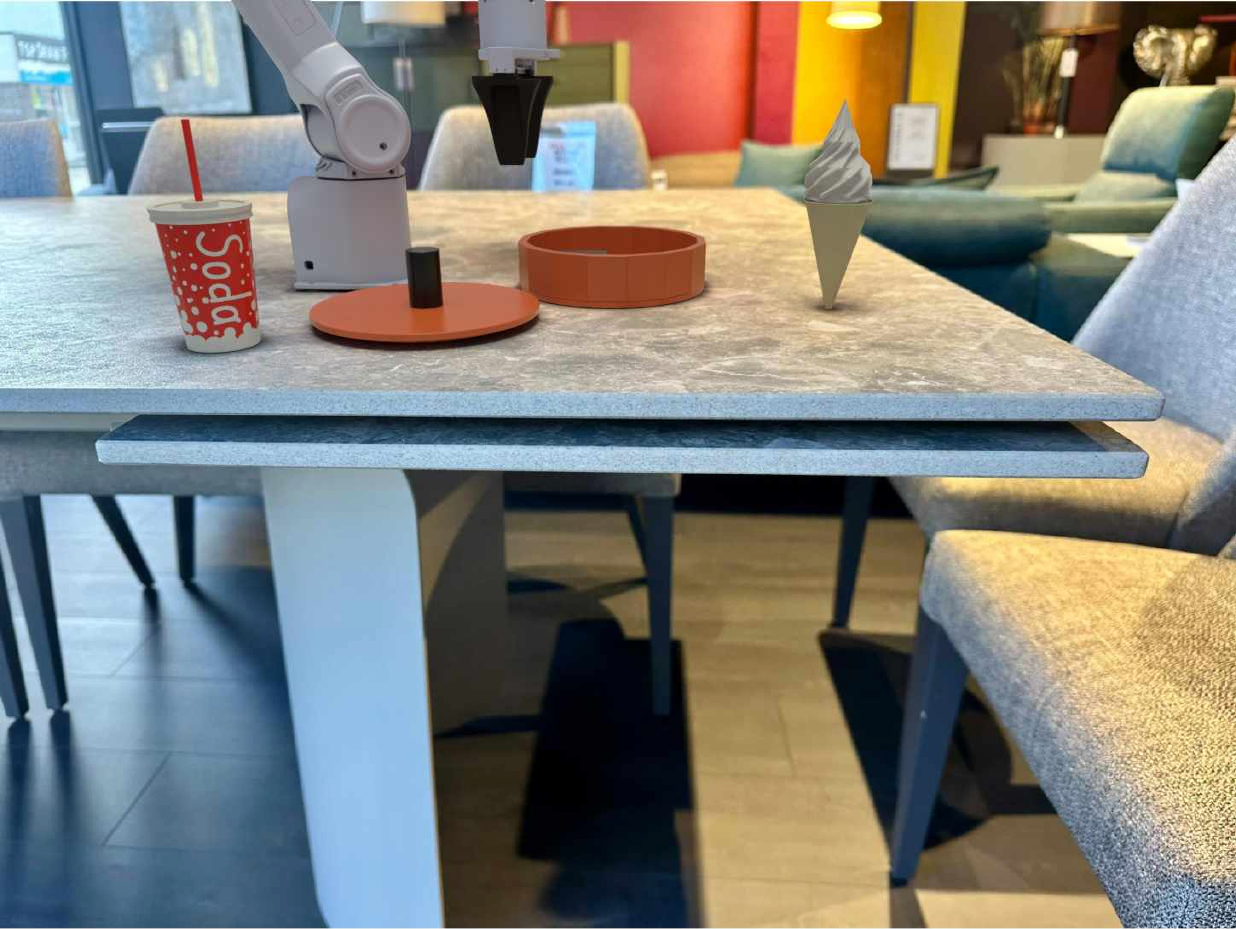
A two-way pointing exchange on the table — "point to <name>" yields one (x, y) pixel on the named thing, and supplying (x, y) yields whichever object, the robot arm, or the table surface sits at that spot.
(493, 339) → the table surface
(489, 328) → the pan lid
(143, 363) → the table surface
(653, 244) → the pan
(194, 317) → the beverage cup
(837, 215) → the ice cream cone
